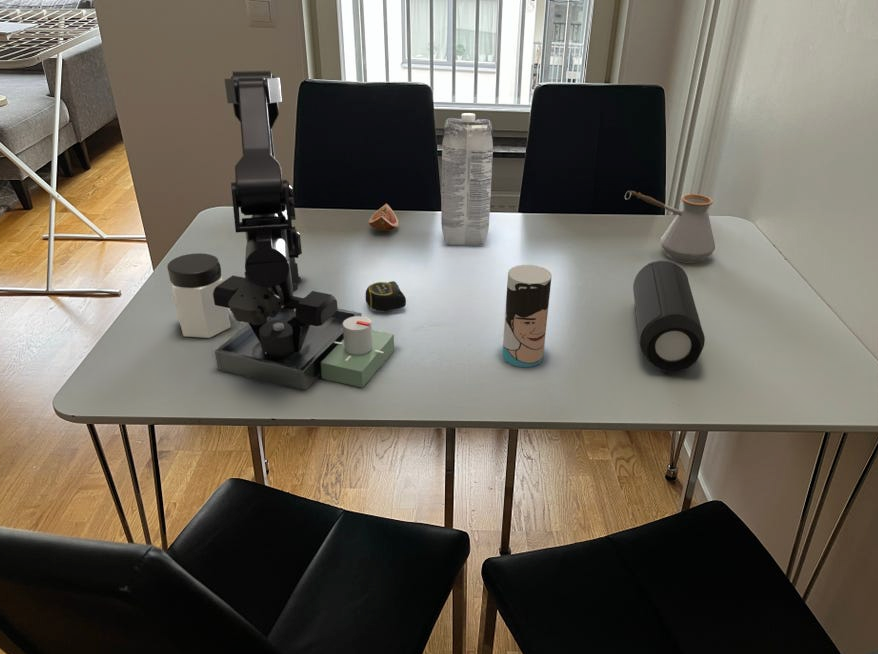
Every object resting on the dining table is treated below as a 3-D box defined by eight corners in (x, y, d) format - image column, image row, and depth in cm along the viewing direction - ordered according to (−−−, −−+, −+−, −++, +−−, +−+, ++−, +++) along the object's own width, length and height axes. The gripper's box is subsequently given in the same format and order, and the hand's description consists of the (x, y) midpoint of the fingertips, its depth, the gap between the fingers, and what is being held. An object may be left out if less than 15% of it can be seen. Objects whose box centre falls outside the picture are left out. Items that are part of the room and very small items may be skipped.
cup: (508, 369, 113) (515, 285, 105) (497, 347, 119) (502, 266, 111) (548, 364, 115) (557, 281, 107) (535, 343, 120) (543, 263, 112)
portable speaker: (699, 380, 112) (713, 325, 107) (636, 373, 113) (646, 319, 108) (681, 306, 133) (691, 257, 128) (628, 301, 134) (636, 253, 129)
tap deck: (317, 377, 110) (315, 360, 108) (352, 340, 119) (351, 324, 118) (367, 389, 107) (366, 371, 106) (399, 350, 117) (398, 334, 115)
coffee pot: (699, 244, 159) (713, 179, 151) (721, 266, 149) (738, 198, 141) (608, 247, 156) (617, 181, 148) (624, 269, 147) (636, 199, 139)
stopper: (255, 358, 111) (250, 330, 109) (275, 340, 116) (271, 313, 113) (288, 366, 110) (284, 337, 107) (307, 347, 115) (304, 320, 112)
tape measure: (407, 312, 128) (406, 294, 126) (370, 317, 126) (369, 298, 124) (398, 296, 134) (398, 278, 132) (362, 300, 132) (361, 282, 130)
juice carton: (488, 248, 154) (494, 122, 140) (440, 246, 154) (441, 120, 140) (487, 232, 162) (493, 111, 147) (442, 231, 162) (443, 109, 147)
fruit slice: (395, 238, 158) (394, 216, 155) (365, 236, 158) (364, 215, 155) (400, 224, 165) (400, 203, 162) (372, 222, 165) (371, 202, 162)
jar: (234, 333, 120) (223, 269, 114) (184, 343, 117) (170, 278, 111) (225, 310, 127) (214, 248, 121) (177, 319, 124) (163, 256, 117)
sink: (225, 368, 111) (223, 357, 110) (285, 317, 126) (284, 307, 125) (303, 386, 107) (302, 375, 106) (356, 331, 122) (355, 321, 121)
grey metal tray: (217, 370, 111) (214, 351, 109) (284, 314, 126) (281, 297, 125) (305, 390, 107) (303, 371, 105) (362, 330, 122) (361, 312, 120)
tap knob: (339, 351, 111) (337, 325, 108) (352, 338, 114) (350, 312, 112) (365, 357, 109) (363, 330, 107) (377, 343, 113) (375, 317, 110)
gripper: (180, 268, 100) (199, 360, 108) (296, 290, 95) (307, 386, 104) (227, 240, 109) (241, 327, 117) (335, 259, 104) (342, 349, 112)
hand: (281, 347), depth 112 cm, fingers closed on stopper, 6 cm apart
